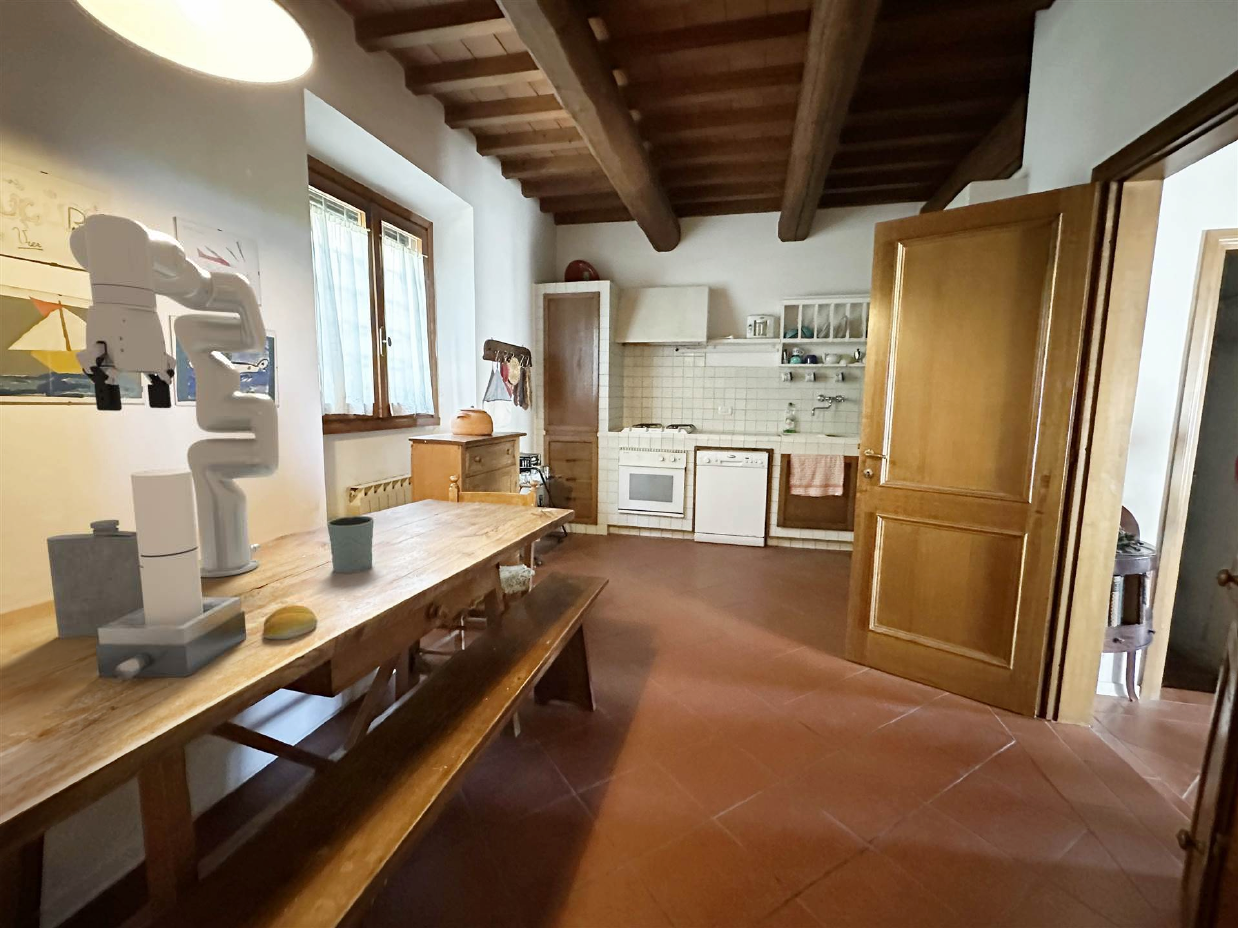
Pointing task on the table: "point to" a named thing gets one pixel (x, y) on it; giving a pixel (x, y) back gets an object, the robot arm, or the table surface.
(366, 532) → the green cup
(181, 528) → the cylindrical container
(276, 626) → the bread roll
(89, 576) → the hip flask
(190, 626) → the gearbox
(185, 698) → the table surface
